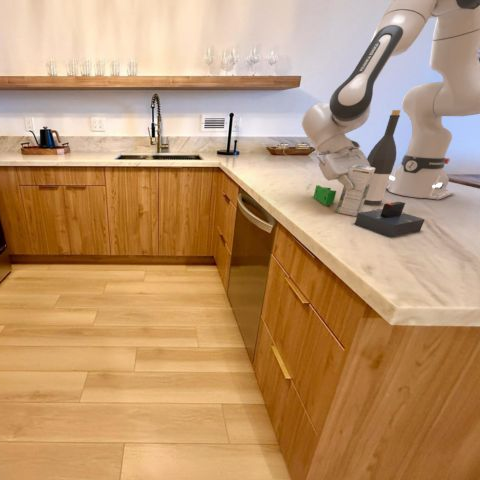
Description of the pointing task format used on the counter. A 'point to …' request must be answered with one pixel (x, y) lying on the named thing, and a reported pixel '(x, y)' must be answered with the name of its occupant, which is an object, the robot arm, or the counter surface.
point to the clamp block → (389, 223)
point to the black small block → (392, 209)
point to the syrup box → (356, 190)
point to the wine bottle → (382, 162)
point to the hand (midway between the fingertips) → (358, 187)
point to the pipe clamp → (324, 195)
